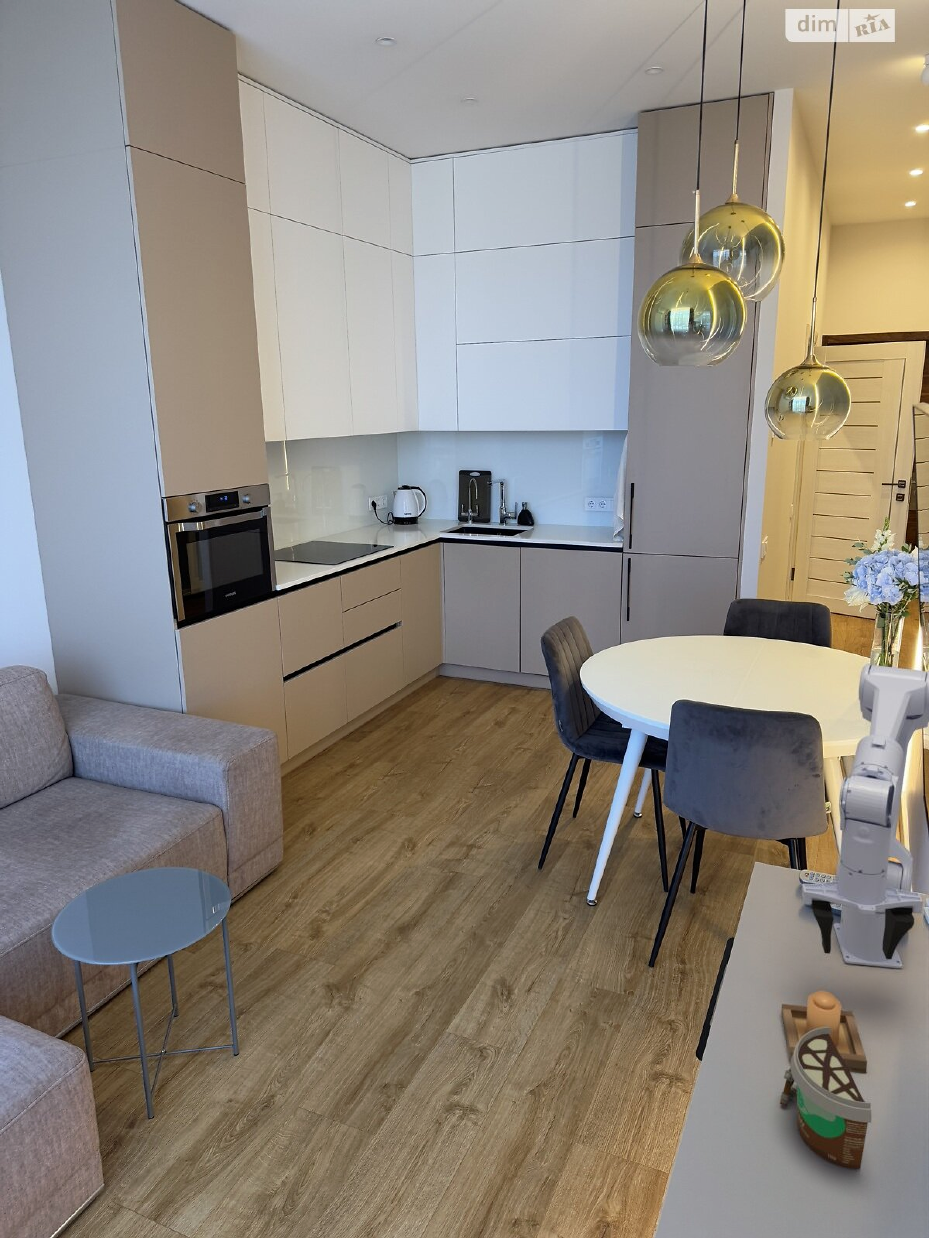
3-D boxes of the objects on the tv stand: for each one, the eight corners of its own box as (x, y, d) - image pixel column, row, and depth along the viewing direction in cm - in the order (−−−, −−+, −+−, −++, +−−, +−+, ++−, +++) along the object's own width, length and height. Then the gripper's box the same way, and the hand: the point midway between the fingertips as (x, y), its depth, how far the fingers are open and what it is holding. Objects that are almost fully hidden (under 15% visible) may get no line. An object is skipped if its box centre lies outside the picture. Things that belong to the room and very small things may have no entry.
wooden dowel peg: (803, 1025, 114) (805, 985, 113) (835, 1028, 113) (838, 988, 112) (808, 1047, 110) (810, 1006, 109) (841, 1051, 110) (844, 1009, 108)
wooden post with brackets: (771, 1102, 102) (781, 1065, 102) (800, 1090, 108) (808, 1055, 108) (786, 1111, 101) (795, 1074, 101) (813, 1098, 106) (822, 1063, 107)
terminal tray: (781, 1014, 117) (781, 1003, 117) (851, 1022, 115) (852, 1011, 115) (790, 1063, 109) (791, 1052, 108) (866, 1073, 107) (867, 1061, 106)
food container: (772, 1091, 105) (776, 1024, 102) (823, 1091, 105) (828, 1023, 102) (808, 1181, 93) (814, 1107, 90) (865, 1181, 93) (872, 1106, 90)
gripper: (809, 874, 109) (803, 965, 113) (933, 884, 106) (923, 976, 110) (801, 846, 116) (796, 932, 120) (917, 854, 113) (908, 942, 116)
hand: (856, 951), depth 115 cm, fingers open, 7 cm apart
